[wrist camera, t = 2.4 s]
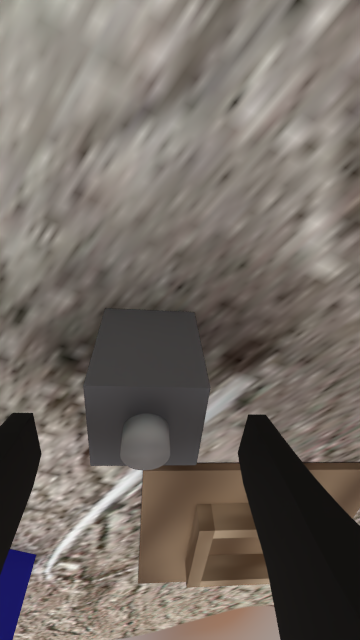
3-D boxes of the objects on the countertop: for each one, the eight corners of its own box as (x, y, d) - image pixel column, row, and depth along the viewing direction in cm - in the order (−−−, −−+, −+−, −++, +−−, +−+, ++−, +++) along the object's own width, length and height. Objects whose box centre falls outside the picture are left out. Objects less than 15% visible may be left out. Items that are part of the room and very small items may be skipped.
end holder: (381, 462, 21) (402, 494, 20) (310, 569, 30) (321, 599, 28) (143, 463, 20) (142, 498, 18) (138, 576, 28) (137, 608, 26)
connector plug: (194, 311, 14) (215, 411, 9) (185, 378, 17) (199, 490, 11) (105, 307, 14) (76, 410, 9) (107, 376, 16) (85, 492, 11)
